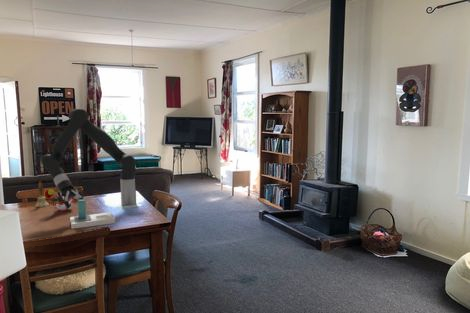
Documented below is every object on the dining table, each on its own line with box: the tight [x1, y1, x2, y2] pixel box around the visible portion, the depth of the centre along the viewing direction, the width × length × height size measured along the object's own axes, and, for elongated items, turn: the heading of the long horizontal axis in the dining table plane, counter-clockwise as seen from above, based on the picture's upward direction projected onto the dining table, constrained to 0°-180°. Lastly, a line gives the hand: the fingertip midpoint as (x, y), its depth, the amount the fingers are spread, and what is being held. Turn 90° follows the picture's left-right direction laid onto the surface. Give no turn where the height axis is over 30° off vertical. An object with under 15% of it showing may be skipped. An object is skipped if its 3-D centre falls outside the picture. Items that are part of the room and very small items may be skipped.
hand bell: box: [34, 181, 50, 208], centre depth 238 cm, size 8×8×16 cm
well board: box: [69, 211, 116, 229], centre depth 200 cm, size 22×14×3 cm, turn 117°
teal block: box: [77, 199, 87, 219], centre depth 197 cm, size 4×4×10 cm
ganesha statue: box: [43, 187, 75, 212], centre depth 224 cm, size 14×14×20 cm
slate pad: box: [73, 214, 91, 222], centre depth 198 cm, size 8×10×1 cm
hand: (76, 205), depth 200 cm, fingers open, 8 cm apart
